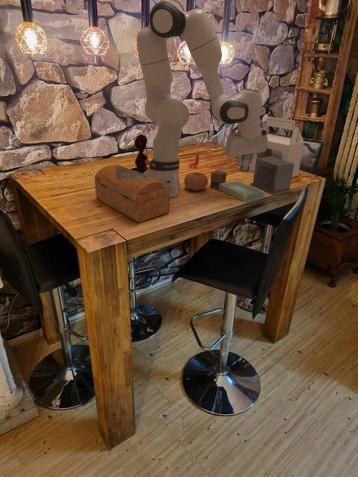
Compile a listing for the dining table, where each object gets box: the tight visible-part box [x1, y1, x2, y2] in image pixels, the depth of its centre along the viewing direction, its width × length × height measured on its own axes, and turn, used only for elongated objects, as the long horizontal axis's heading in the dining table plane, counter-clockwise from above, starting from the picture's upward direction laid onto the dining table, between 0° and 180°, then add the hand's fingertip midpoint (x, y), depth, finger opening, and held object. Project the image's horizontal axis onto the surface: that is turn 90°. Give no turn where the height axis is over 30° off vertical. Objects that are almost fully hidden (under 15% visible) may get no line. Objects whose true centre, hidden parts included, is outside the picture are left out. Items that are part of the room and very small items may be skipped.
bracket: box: [188, 151, 200, 169], centre depth 194 cm, size 12×4×8 cm, turn 173°
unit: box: [249, 155, 294, 196], centre depth 163 cm, size 12×16×13 cm
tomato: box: [183, 171, 209, 192], centre depth 160 cm, size 11×11×8 cm
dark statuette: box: [130, 134, 149, 174], centre depth 172 cm, size 15×15×20 cm
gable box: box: [249, 116, 305, 178], centre depth 182 cm, size 22×13×28 cm, turn 41°
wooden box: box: [94, 164, 170, 223], centre depth 139 cm, size 30×16×14 cm, turn 40°
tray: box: [219, 179, 266, 203], centre depth 157 cm, size 11×18×3 cm, turn 30°
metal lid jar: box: [239, 154, 251, 173], centre depth 151 cm, size 4×4×7 cm
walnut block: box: [210, 170, 227, 191], centre depth 163 cm, size 5×5×7 cm
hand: (244, 164), depth 152 cm, fingers closed on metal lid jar, 4 cm apart
